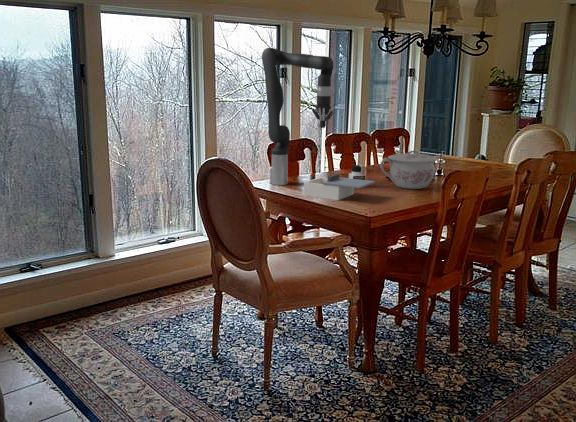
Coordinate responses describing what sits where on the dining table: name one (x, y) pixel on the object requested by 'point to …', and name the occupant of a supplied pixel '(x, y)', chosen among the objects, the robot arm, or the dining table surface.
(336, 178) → the lid
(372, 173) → the dining table surface
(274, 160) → the robot arm
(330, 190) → the box
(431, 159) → the chamber pot
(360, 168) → the medicine bottle
